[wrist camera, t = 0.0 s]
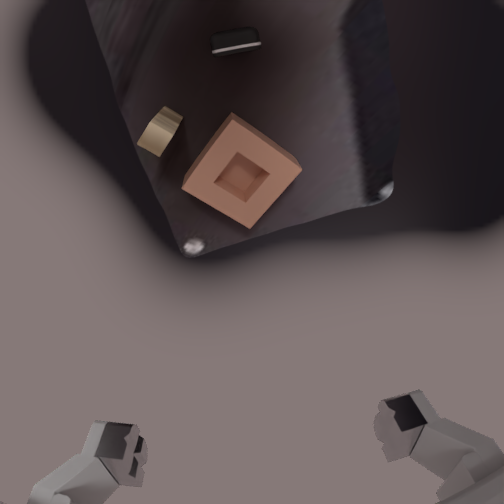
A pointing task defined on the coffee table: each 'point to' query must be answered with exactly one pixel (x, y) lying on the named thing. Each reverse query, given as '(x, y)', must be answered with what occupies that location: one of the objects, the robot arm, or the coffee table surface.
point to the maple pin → (160, 131)
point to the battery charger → (235, 41)
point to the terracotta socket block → (240, 171)
